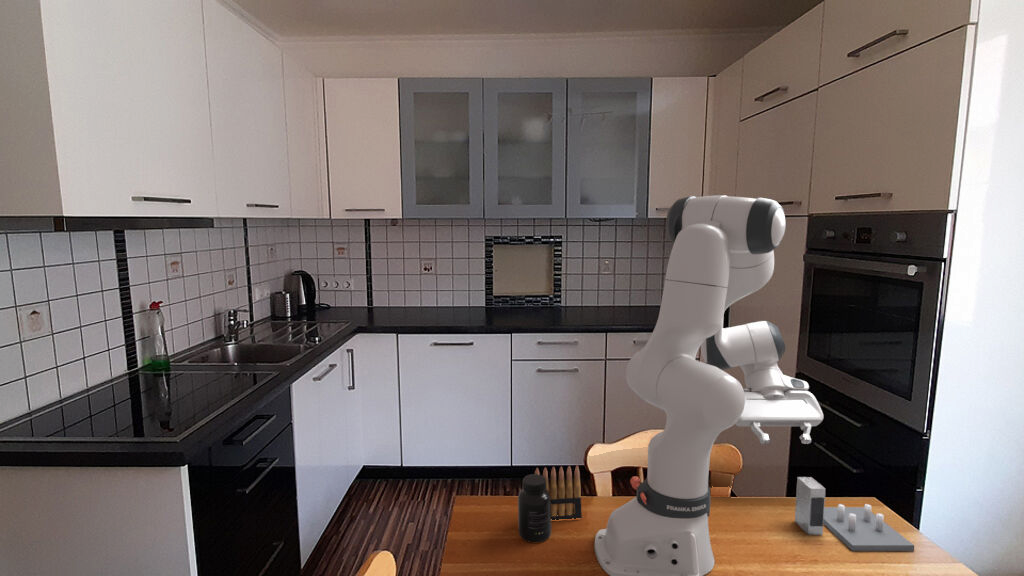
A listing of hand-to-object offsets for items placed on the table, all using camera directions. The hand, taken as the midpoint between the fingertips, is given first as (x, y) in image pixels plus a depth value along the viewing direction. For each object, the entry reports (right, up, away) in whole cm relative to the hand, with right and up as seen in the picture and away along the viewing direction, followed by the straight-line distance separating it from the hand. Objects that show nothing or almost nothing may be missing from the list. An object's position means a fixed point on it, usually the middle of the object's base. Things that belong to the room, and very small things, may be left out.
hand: (786, 442), depth 116 cm
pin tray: (+10, -15, -10) cm, 21 cm away
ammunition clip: (-53, -15, -5) cm, 55 cm away
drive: (0, -15, -9) cm, 18 cm away
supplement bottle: (-58, -16, -11) cm, 61 cm away
